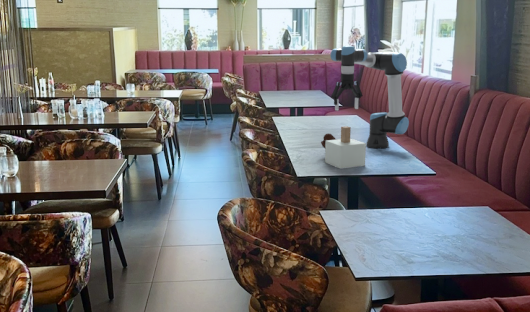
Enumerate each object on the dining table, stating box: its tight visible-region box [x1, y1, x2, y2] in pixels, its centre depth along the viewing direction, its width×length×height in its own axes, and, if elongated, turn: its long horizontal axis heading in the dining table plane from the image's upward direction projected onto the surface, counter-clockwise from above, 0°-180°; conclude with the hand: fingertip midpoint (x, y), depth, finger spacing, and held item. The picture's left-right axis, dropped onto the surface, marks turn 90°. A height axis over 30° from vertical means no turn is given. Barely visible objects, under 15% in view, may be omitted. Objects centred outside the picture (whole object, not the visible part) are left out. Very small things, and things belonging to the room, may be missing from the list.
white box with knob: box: [324, 125, 367, 170], centre depth 324 cm, size 17×17×22 cm
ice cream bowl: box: [320, 133, 337, 149], centre depth 345 cm, size 11×11×15 cm
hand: (346, 109), depth 321 cm, fingers open, 13 cm apart
